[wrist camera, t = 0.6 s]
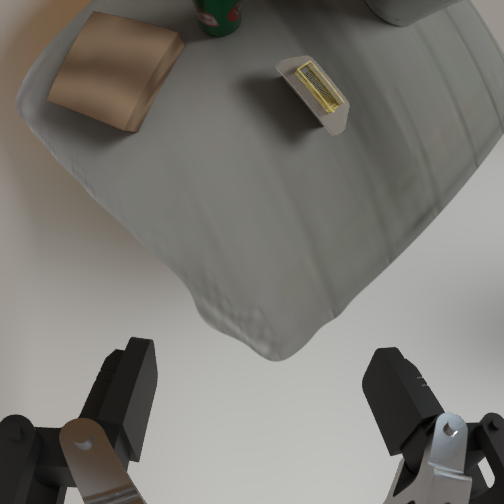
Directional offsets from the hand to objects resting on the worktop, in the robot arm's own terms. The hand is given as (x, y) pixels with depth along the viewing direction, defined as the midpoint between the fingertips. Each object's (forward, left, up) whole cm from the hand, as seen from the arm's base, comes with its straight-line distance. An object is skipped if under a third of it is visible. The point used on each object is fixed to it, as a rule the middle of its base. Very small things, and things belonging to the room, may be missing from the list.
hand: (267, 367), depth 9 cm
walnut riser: (-9, -21, -27) cm, 36 cm away
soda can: (-20, -13, -27) cm, 36 cm away
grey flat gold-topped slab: (-16, +1, -28) cm, 32 cm away
